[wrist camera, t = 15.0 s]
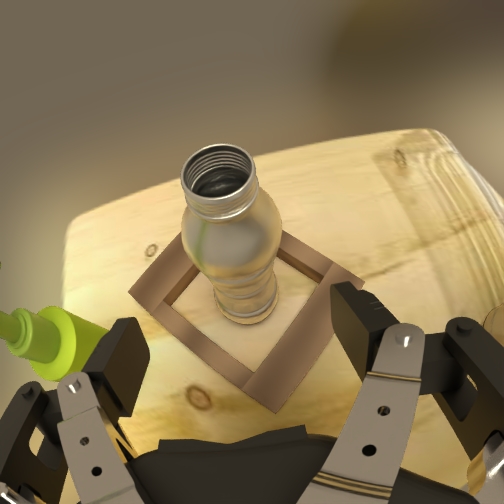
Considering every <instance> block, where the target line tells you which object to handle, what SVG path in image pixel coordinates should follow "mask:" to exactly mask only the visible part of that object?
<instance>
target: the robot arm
mask: <svg viewBox="0 0 504 504" xmlns="http://www.w3.org/2000/svg"><path fill="white" fill-rule="evenodd" d="M330 303H331V322H332V327H333V330H334V332H335V334H336V336H337V337H338V339H339V341H340V343H341V345H342V346H343V348H344V350H345V352H346V354H347V355H348V357H349V359H350V361H351V363H352V365H353V366H354V368H355V370H356V372H357V374H358V376H359V377H360V379H361V381H362V383H363V384H362V386H361V389H360V391H359V393H358V396H357V398H356V401H355V403H354V405H353V407H352V410H351V412H350V414H349V416H348V418H347V421H346V423H345V425H344V427H343V429H342V431H341V433H340V435H339V437H338V438H336V437H333V436H328V435H320V434H307V432H306V428H305V424H304V425H300V426H295V427H290V428H285V429H279V430H274V431H268V432H265V433H262V434H259V435H256V436H254V437H251V438H248V439H245V440H242V441H239V442H235V443H232V444H223V443H215V442H208V441H201V440H195V439H174V440H161V439H160V440H159V445H158V449H157V450H153V451H150V452H147V453H144V454H142V455H140V456H138V454H137V452H136V451H135V449H134V447H133V446H132V444H131V442H130V441H129V439H128V437H127V435H126V433H125V432H124V430H123V428H122V426H121V425H120V423H119V422H118V420H119V417H131V416H132V413H133V409H134V406H135V403H136V400H137V397H138V394H139V391H140V388H141V384H142V381H143V378H144V375H145V372H146V370H147V367H148V364H149V361H150V352H149V348H148V345H147V343H146V340H145V338H144V335H143V333H142V330H141V328H140V325H139V323H138V321H137V319H136V318H135V317H128V318H120V319H117V320H116V322H115V323H114V325H113V327H112V328H111V330H110V331H108V332H107V333H106V334H105V335H104V336H103V337H102V338H101V339H100V340H99V342H98V344H97V345H96V347H95V348H94V350H93V353H91V355H90V357H89V358H88V360H87V362H86V363H85V365H84V367H83V369H82V370H81V372H74V373H71V374H69V375H67V376H65V377H64V378H63V379H62V380H61V381H60V382H59V384H58V386H57V389H55V390H50V391H45V390H44V389H43V388H42V386H41V385H40V383H38V382H36V381H32V382H28V383H26V384H24V385H23V386H21V387H20V388H19V389H18V391H17V392H16V394H15V395H14V397H13V399H12V401H11V402H10V404H9V405H8V407H7V409H6V410H5V412H4V414H3V416H2V418H1V419H0V504H59V501H60V497H61V493H62V490H63V486H64V482H65V479H66V475H67V472H68V468H69V470H70V473H71V476H72V479H73V482H74V485H75V487H76V490H77V493H78V495H79V498H80V500H81V501H80V502H78V503H77V504H504V304H502V305H500V306H498V307H496V308H495V309H493V310H492V311H491V312H490V313H489V314H488V316H487V318H486V320H485V323H484V327H482V326H481V325H480V324H479V323H478V322H476V321H475V320H473V319H470V318H467V317H457V318H453V319H451V320H450V321H449V322H448V323H447V325H446V329H445V332H443V333H435V334H424V332H423V330H422V329H421V328H419V327H418V326H415V325H413V324H408V323H400V322H399V321H398V320H397V319H396V318H395V317H394V316H393V314H392V313H391V312H390V311H389V310H388V309H387V308H386V307H384V305H383V304H382V303H381V302H379V300H378V299H377V298H376V297H375V296H374V294H372V293H370V292H368V291H365V290H357V289H356V288H355V286H354V285H353V284H352V283H351V282H350V281H344V282H339V283H335V284H331V286H330ZM467 375H469V376H470V377H471V379H472V380H473V381H474V383H475V384H476V386H477V390H478V391H477V390H476V388H475V387H474V386H473V384H472V383H471V382H470V381H469V379H468V378H467ZM426 394H432V395H433V397H434V398H435V400H436V402H437V403H438V405H439V406H440V408H441V410H442V411H443V413H444V415H445V416H446V418H447V420H448V421H449V423H450V425H451V426H452V428H453V430H454V432H455V433H456V435H457V437H458V439H459V440H460V442H461V444H462V446H463V447H464V449H465V451H466V453H467V455H468V457H469V458H470V460H471V463H470V465H469V467H468V470H467V479H468V487H469V493H467V492H465V491H462V490H459V489H456V488H453V487H450V486H447V485H444V484H442V483H439V482H436V481H433V480H431V479H428V478H426V477H423V476H421V475H418V474H416V473H413V472H411V471H408V470H406V469H404V468H402V467H400V465H401V462H402V459H403V456H404V452H405V449H406V446H407V442H408V439H409V435H410V431H411V427H412V423H413V419H414V415H415V410H416V406H417V401H418V396H419V395H426ZM35 427H37V428H38V429H39V430H40V431H41V433H42V434H43V435H44V439H43V441H42V444H41V446H40V449H39V451H38V454H37V456H35V455H34V454H33V453H32V452H31V450H30V447H29V440H30V438H31V436H32V433H33V431H34V429H35Z"/></svg>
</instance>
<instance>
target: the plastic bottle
mask: <svg viewBox="0 0 504 504" xmlns="http://www.w3.org/2000/svg"><path fill="white" fill-rule="evenodd" d="M180 177H181V185H182V188H183V190H184V193H185V199H186V202H187V207H186V208H185V211H184V214H183V217H182V223H181V234H182V243H183V247H184V250H185V252H186V253H187V255H188V257H189V258H190V260H191V261H192V262H193V263H194V265H195V266H196V267H197V268H198V269H199V270H200V271H201V272H202V273H203V274H204V275H206V276H207V277H208V278H209V279H210V281H211V282H212V284H213V286H214V295H215V300H216V303H217V306H218V307H219V309H220V311H221V312H222V313H223V314H224V315H225V316H226V317H228V318H229V319H230V320H233V321H235V322H237V323H241V324H253V323H257V322H259V321H261V320H263V319H264V318H266V317H267V316H268V315H269V314H270V313H271V312H272V310H273V309H274V307H275V305H276V303H277V300H278V295H279V287H278V283H277V279H276V276H275V274H274V272H273V264H274V260H275V257H276V254H277V251H278V248H279V245H280V240H281V234H282V220H281V217H280V213H279V211H278V209H277V207H276V205H275V203H274V201H273V199H272V198H271V197H270V195H269V194H268V193H267V192H266V191H265V190H263V189H262V188H261V187H259V182H258V178H257V176H256V167H255V164H254V161H253V158H252V157H251V155H250V154H249V153H248V152H247V151H246V150H245V149H243V148H242V147H239V146H237V145H233V144H226V143H218V144H213V145H209V146H206V147H204V148H201V149H199V150H197V151H196V152H195V153H193V154H192V155H191V156H190V157H189V158H188V159H187V160H186V162H185V163H184V165H183V167H182V170H181V174H180Z"/></svg>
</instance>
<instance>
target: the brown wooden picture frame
mask: <svg viewBox="0 0 504 504" xmlns="http://www.w3.org/2000/svg"><path fill="white" fill-rule="evenodd" d="M276 256H277V257H279V258H280V259H282V260H283V261H285V262H286V263H288V264H289V265H291V266H293V267H294V268H296V269H297V270H299V271H300V272H302V273H303V274H305V275H307V276H308V277H310V278H311V279H313V280H314V281H316V282H317V283H319V285H318V287H317V288H316V290H315V291H314V293H313V294H312V296H311V297H310V298H309V300H308V301H307V303H306V304H305V306H304V307H303V309H302V310H301V311H300V313H299V314H298V316H297V317H296V318H295V320H294V321H293V323H292V324H291V325H290V327H289V328H288V329H287V331H286V332H285V334H284V335H283V336H282V338H281V339H280V340H279V342H278V343H277V344H276V346H275V347H274V348H273V350H272V351H271V352H270V354H269V355H268V356H267V358H266V359H265V360H264V361H263V363H262V364H261V365H260V367H259V368H258V369H257V370H256V372H255V373H253V372H252V371H250V370H249V369H248V368H246V367H245V366H244V365H242V364H241V363H240V362H238V361H237V360H236V359H234V358H233V357H232V356H230V355H229V354H228V353H226V352H225V351H224V350H223V349H221V348H220V347H219V346H217V345H216V344H215V343H214V342H212V341H211V340H210V339H209V338H207V337H206V336H205V335H204V334H202V333H201V332H200V331H199V330H197V329H196V328H195V327H194V326H193V325H191V324H190V323H189V322H188V321H187V320H185V319H184V318H183V317H182V316H181V315H179V314H178V313H177V312H176V311H175V310H174V309H173V308H171V307H170V306H171V305H172V304H173V303H174V301H175V300H176V299H177V298H178V297H179V295H180V294H181V293H182V292H183V291H184V290H185V288H186V287H187V286H188V285H189V284H190V283H191V281H192V280H193V279H194V278H195V277H196V275H197V274H198V273H199V272H200V270H199V269H198V268H197V267H196V266H195V265H194V263H193V262H192V261H191V260H190V258H189V257H188V255H187V253H186V252H185V250H184V247H183V243H182V234H181V232H180V233H179V234H178V235H177V236H176V237H175V239H174V240H173V241H172V242H171V243H170V244H169V245H168V246H167V247H166V248H165V250H164V251H163V252H162V253H161V254H160V255H159V256H158V257H157V258H156V260H155V261H154V262H153V263H152V264H151V265H150V266H149V268H148V269H147V270H146V271H145V272H144V273H143V274H142V276H141V277H140V278H139V279H138V280H137V281H136V283H135V284H134V285H133V286H132V287H131V289H130V290H129V291H128V293H129V294H130V295H131V296H132V297H133V298H134V299H135V300H136V301H137V302H138V303H139V304H141V305H142V306H143V307H144V308H145V309H146V310H147V311H148V312H149V313H150V314H151V315H152V316H153V317H154V318H155V319H156V320H157V321H158V322H160V323H161V324H162V325H163V326H164V327H165V328H166V329H167V330H168V331H169V332H171V333H172V334H173V335H174V336H175V337H176V338H177V339H179V340H180V341H181V342H182V343H183V344H184V345H185V346H187V347H188V348H189V349H190V350H191V351H193V352H194V353H195V354H196V355H197V356H199V357H200V358H201V359H202V360H203V361H205V362H206V363H207V364H208V365H210V366H211V367H212V368H213V369H215V370H216V371H217V372H218V373H220V374H221V375H222V376H224V377H225V378H226V379H228V380H229V381H230V382H231V383H233V384H234V385H235V386H237V387H238V388H240V389H241V390H242V391H244V392H245V393H246V394H248V395H249V396H251V397H252V398H253V399H255V400H256V401H258V402H259V403H260V404H262V405H263V406H265V407H266V408H268V409H269V410H271V411H272V412H274V413H275V414H276V413H277V412H278V410H279V409H280V408H281V407H282V405H283V404H284V403H285V402H286V400H287V399H288V398H289V396H290V395H291V394H292V392H293V391H294V390H295V389H296V387H297V386H298V385H299V383H300V382H301V380H302V379H303V378H304V376H305V375H306V374H307V372H308V371H309V369H310V368H311V367H312V365H313V364H314V362H315V361H316V359H317V358H318V357H319V355H320V354H321V352H322V351H323V349H324V348H325V346H326V345H327V343H328V342H329V340H330V339H331V337H332V336H333V334H334V333H335V332H334V330H333V327H332V322H331V303H330V286H331V284H335V283H339V282H344V281H350V282H351V283H352V284H353V285H354V286H355V288H356V289H357V290H361V288H362V287H363V285H364V283H365V281H363V280H361V279H360V278H358V277H357V276H355V275H354V274H352V273H351V272H349V271H347V270H346V269H344V268H343V267H341V266H340V265H338V264H336V263H335V262H333V261H332V260H330V259H329V258H327V257H325V256H324V255H322V254H321V253H319V252H317V251H316V250H314V249H313V248H311V247H309V246H308V245H306V244H305V243H303V242H301V241H300V240H298V239H296V238H295V237H293V236H292V235H290V234H288V233H287V232H285V231H283V230H282V234H281V240H280V245H279V248H278V251H277V254H276Z"/></svg>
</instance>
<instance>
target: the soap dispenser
mask: <svg viewBox="0 0 504 504" xmlns="http://www.w3.org/2000/svg"><path fill="white" fill-rule="evenodd" d="M0 268H1V263H0ZM108 331H109V330H107V329H105V328H102V327H100V326H98V325H95V324H93V323H91V322H89V321H87V320H84V319H82V318H80V317H78V316H76V315H74V314H72V313H70V312H68V311H66V310H64V309H62V308H59V307H56V306H49V307H46V308H44V309H42V310H41V311H39V312H38V313H37V314H35V313H32V312H30V311H28V310H26V309H23V308H18V309H16V310H14V311H13V312H12V313H11V315H8V314H6V313H4V312H2V311H0V338H1V339H4V340H6V344H7V347H8V349H9V351H10V352H11V353H12V354H14V355H15V356H18V357H22V358H25V359H29V361H30V363H31V366H32V368H33V369H34V371H35V372H36V373H37V374H38V375H39V376H40V377H42V378H43V379H46V380H49V381H56V382H60V381H61V380H62V379H63V378H64V377H65V376H67V375H69V374H71V373H74V372H81V370H82V369H83V367H84V365H85V363H86V362H87V360H88V358H89V357H90V355H91V353H93V350H94V348H95V347H96V345H97V344H98V342H99V340H100V339H101V338H102V337H103V336H104V335H105V334H106V333H107V332H108ZM145 373H146V372H145ZM144 376H145V375H144Z"/></svg>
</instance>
